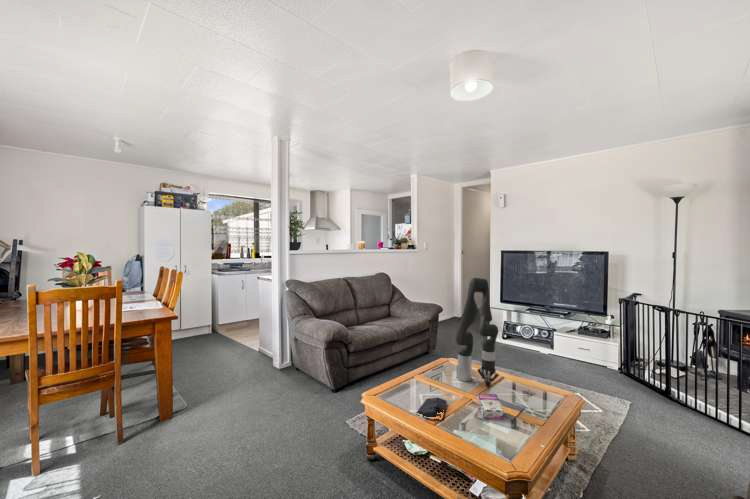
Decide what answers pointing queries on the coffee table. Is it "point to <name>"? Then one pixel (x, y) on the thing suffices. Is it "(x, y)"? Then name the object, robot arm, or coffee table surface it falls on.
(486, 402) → the candy bar box
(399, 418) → the coffee table surface
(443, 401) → the dark slate chunk
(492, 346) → the robot arm
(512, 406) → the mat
